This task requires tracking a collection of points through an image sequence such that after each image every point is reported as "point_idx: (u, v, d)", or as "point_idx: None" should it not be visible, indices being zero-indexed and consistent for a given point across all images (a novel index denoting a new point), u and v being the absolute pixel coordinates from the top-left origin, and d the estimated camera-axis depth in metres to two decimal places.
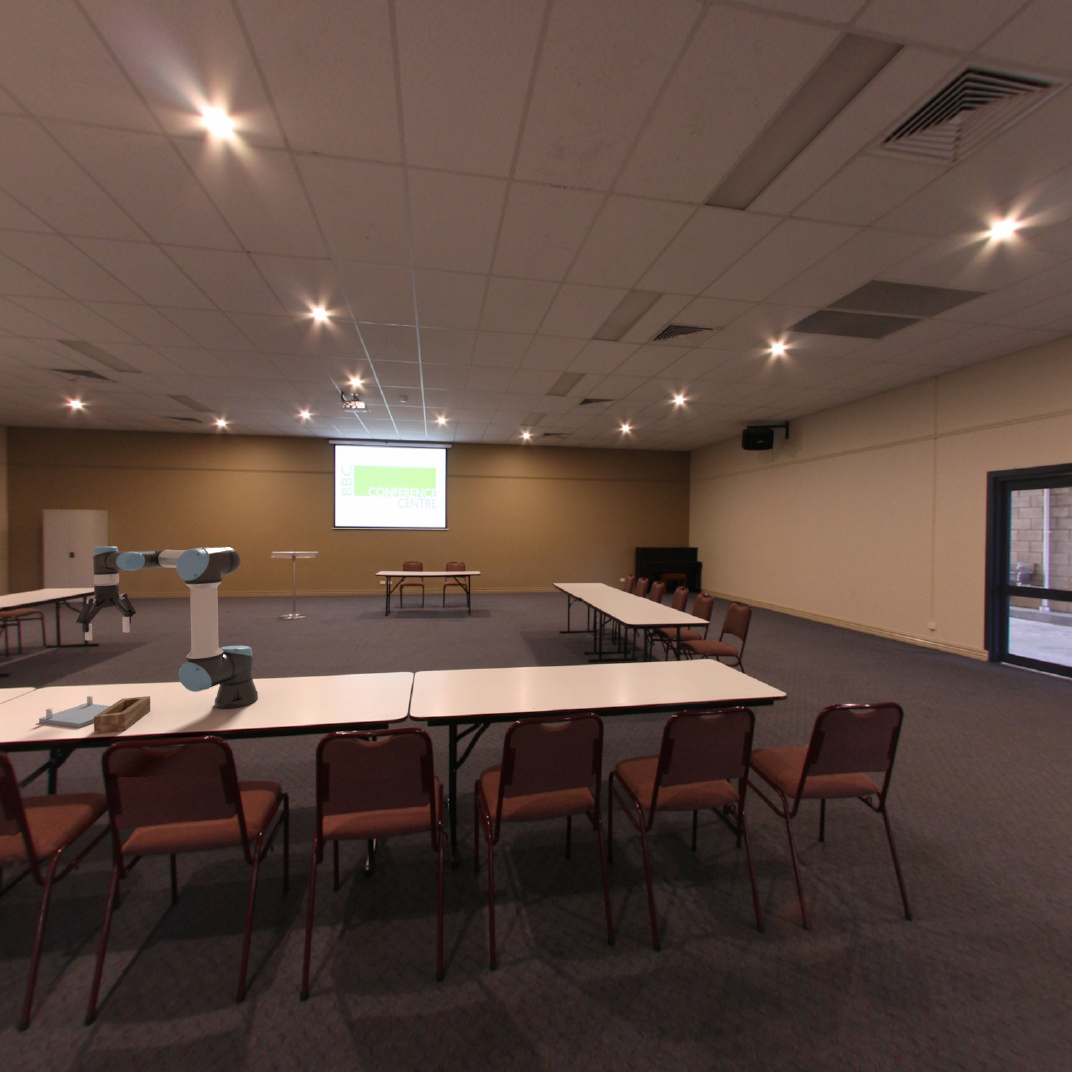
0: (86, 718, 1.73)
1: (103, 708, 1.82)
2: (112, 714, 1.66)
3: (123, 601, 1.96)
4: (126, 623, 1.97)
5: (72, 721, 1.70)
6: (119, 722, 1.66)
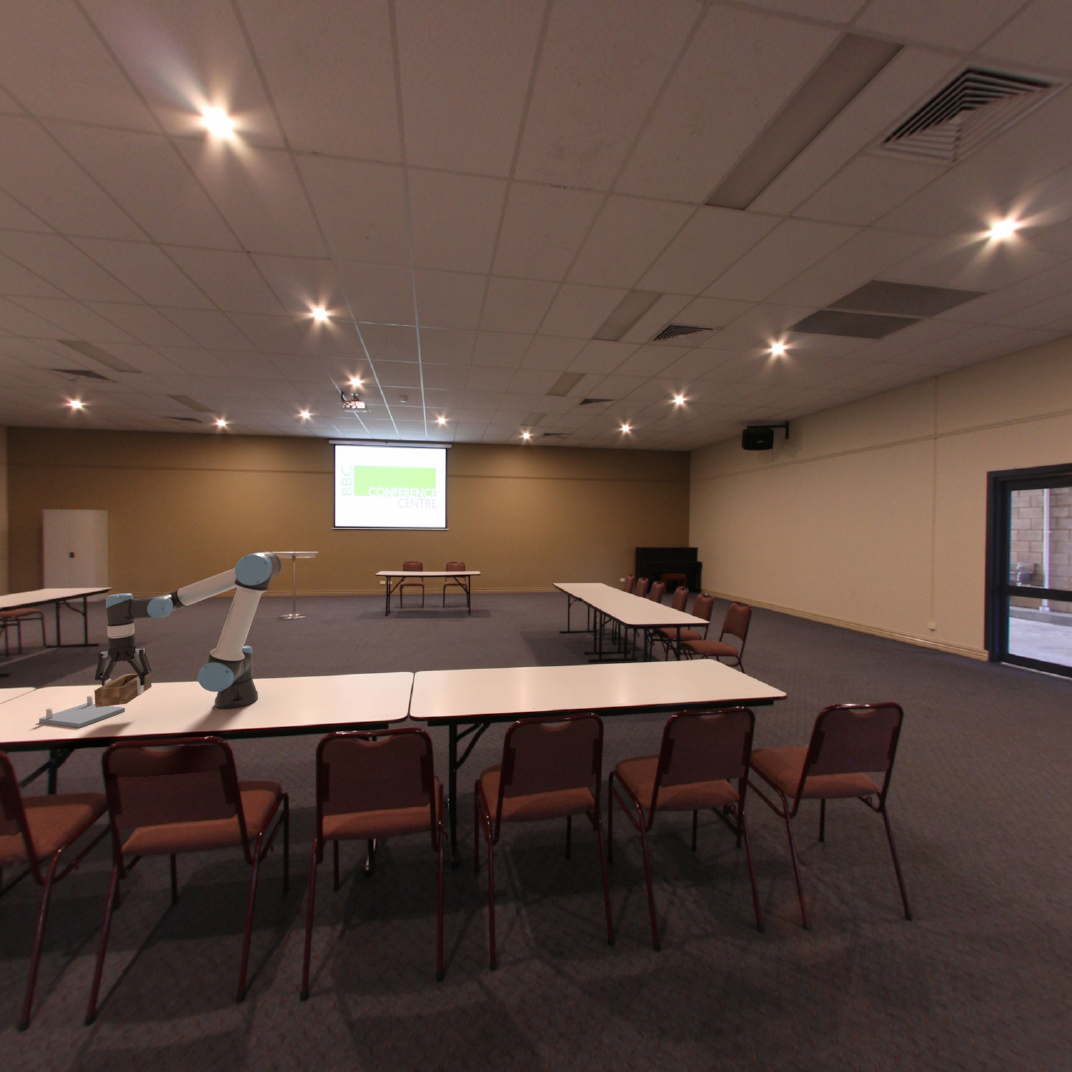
0: (86, 718, 1.73)
1: (103, 708, 1.82)
2: (113, 687, 1.66)
3: None
4: None
5: (72, 721, 1.70)
6: (120, 695, 1.66)
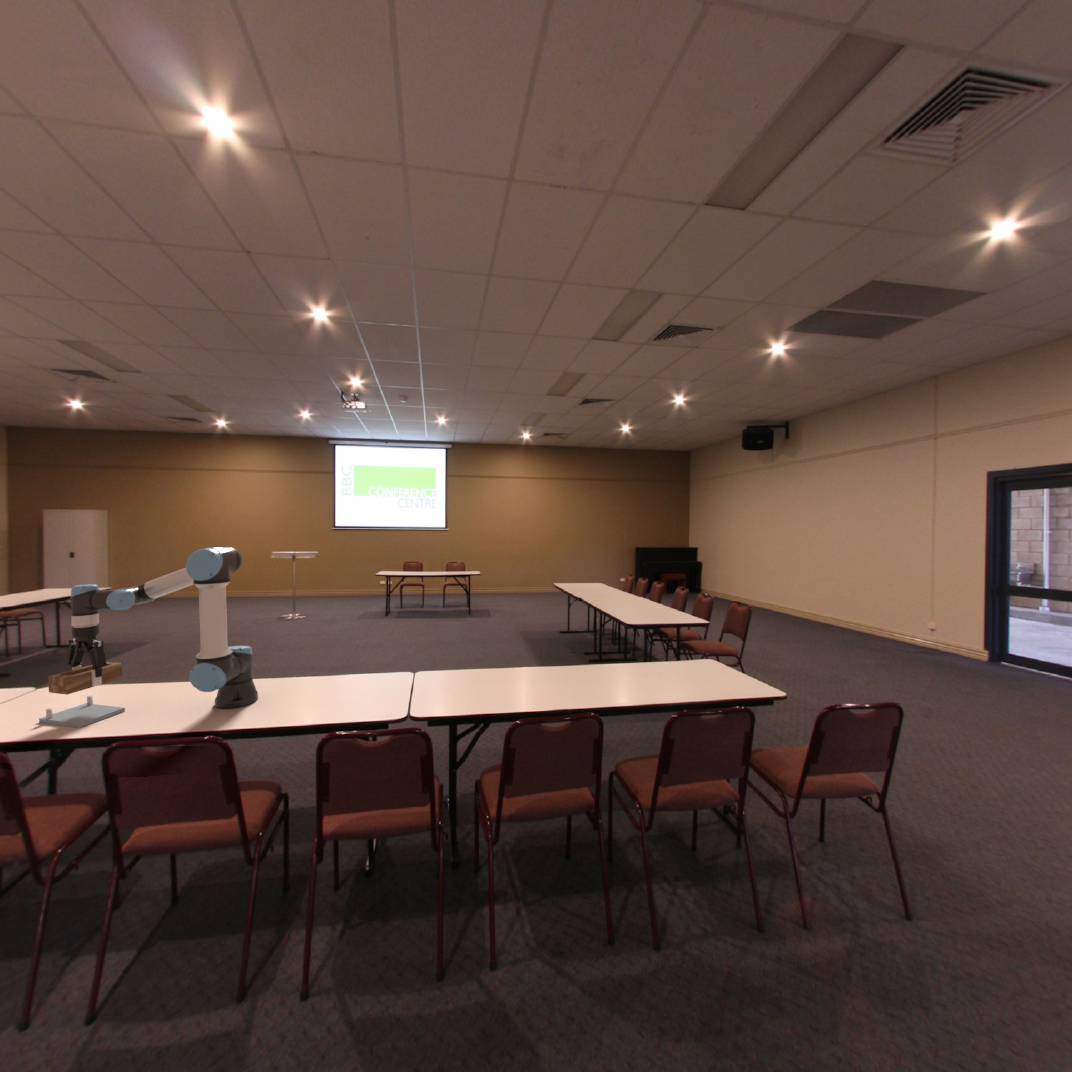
0: (86, 718, 1.73)
1: (103, 708, 1.82)
2: (61, 676, 1.69)
3: None
4: None
5: (72, 721, 1.70)
6: (63, 685, 1.68)
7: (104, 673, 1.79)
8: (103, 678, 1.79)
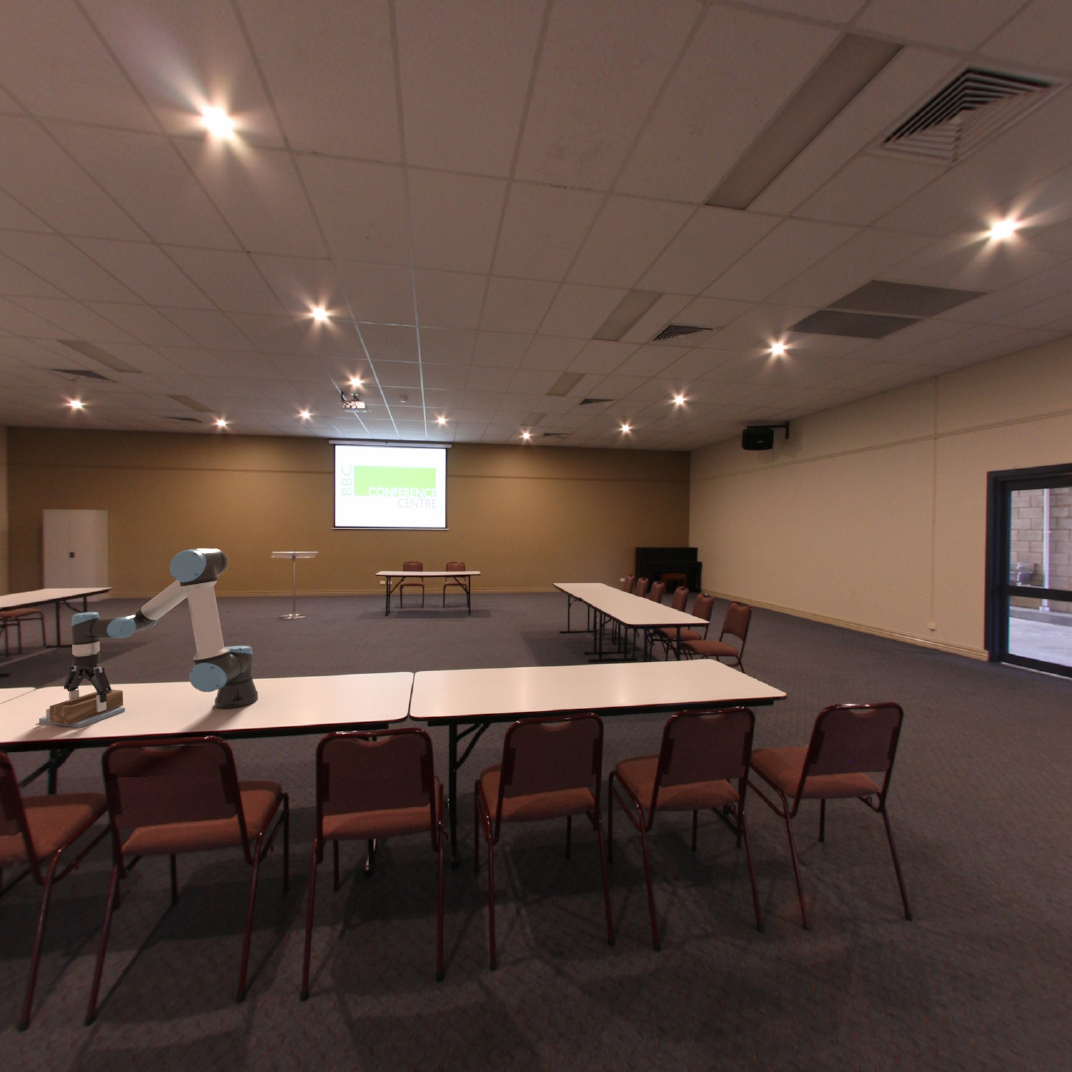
0: (86, 718, 1.73)
1: None
2: (62, 706, 1.69)
3: None
4: None
5: None
6: (65, 715, 1.68)
7: None
8: None
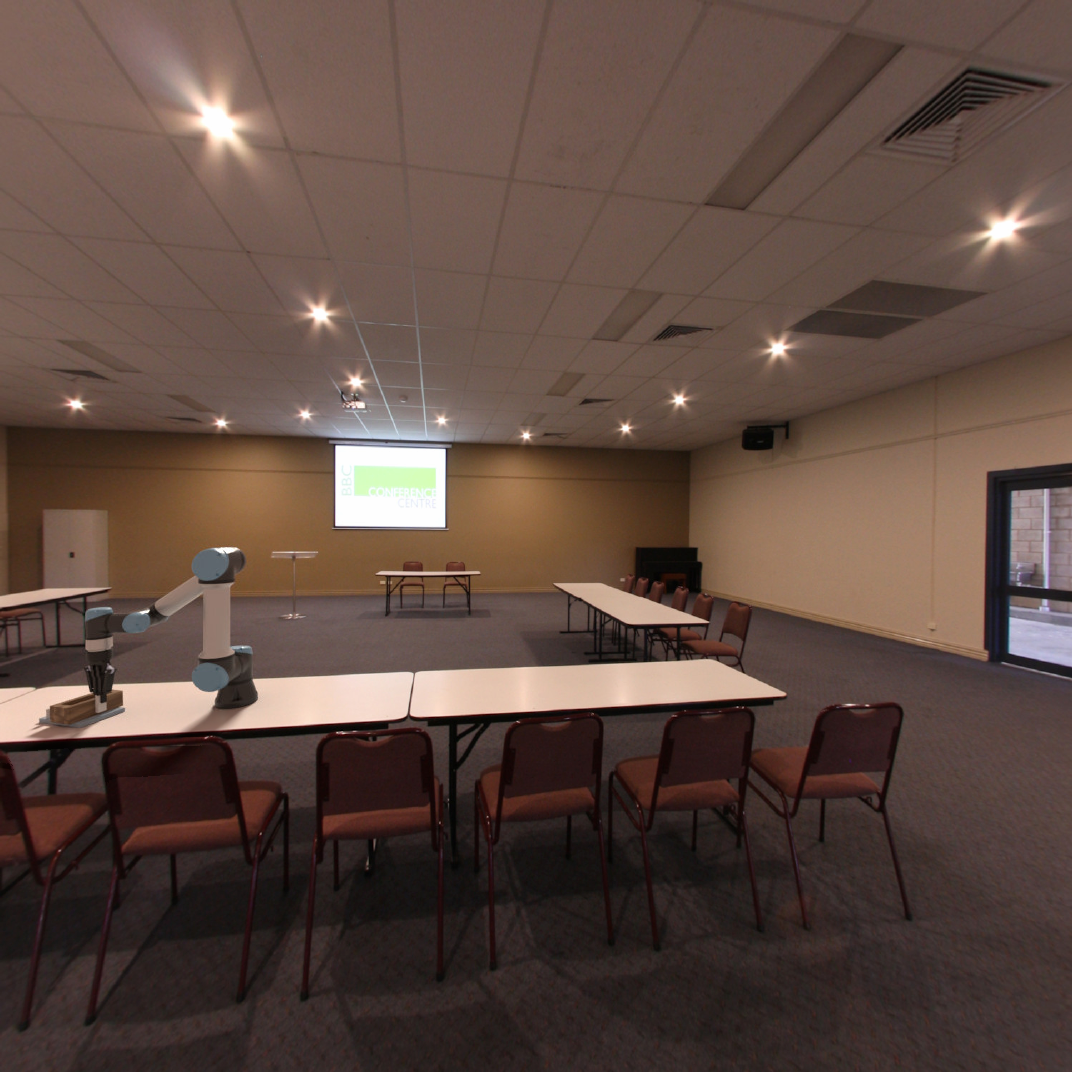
0: (86, 718, 1.73)
1: None
2: (62, 706, 1.69)
3: None
4: None
5: None
6: (65, 715, 1.68)
7: None
8: None
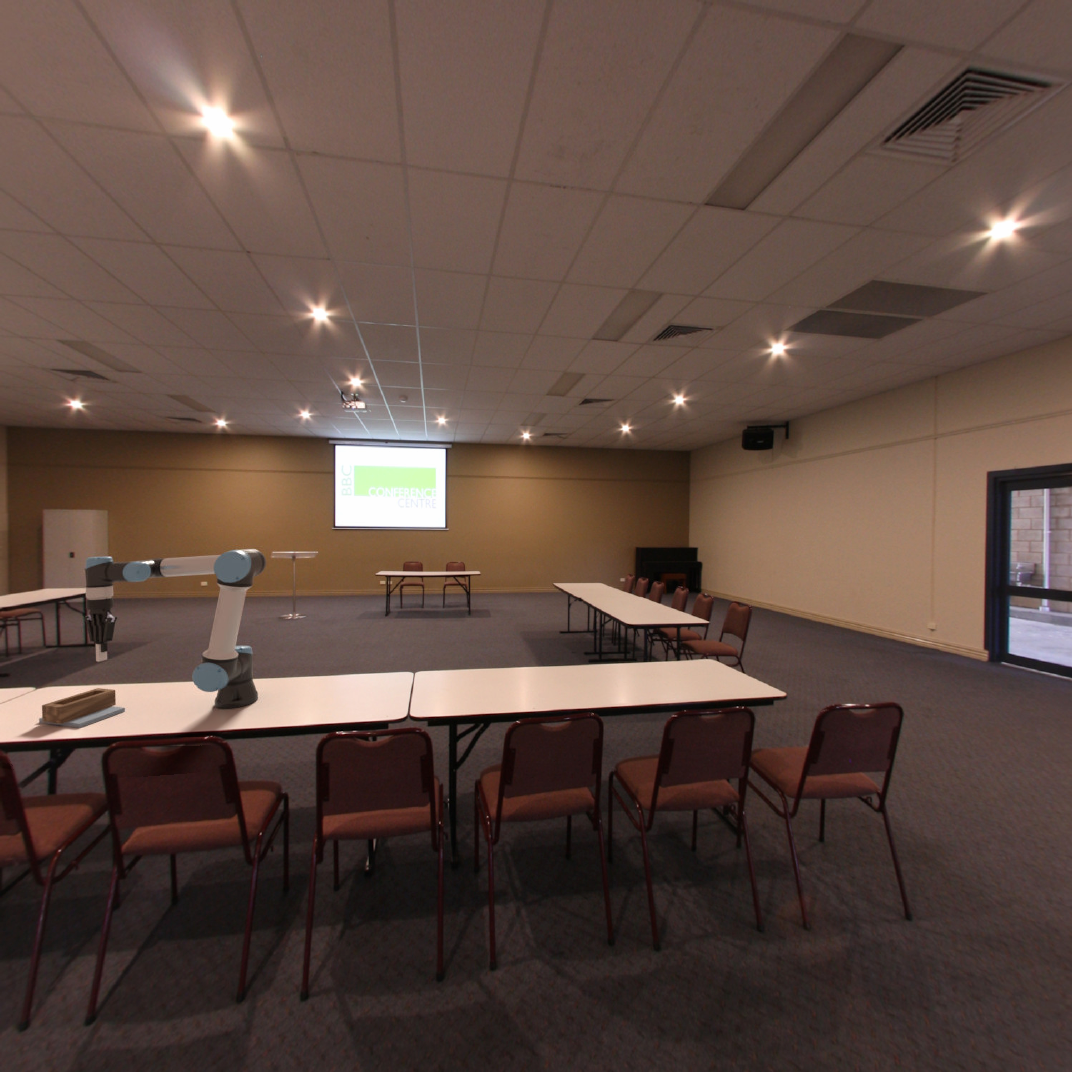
0: (86, 718, 1.73)
1: None
2: (55, 705, 1.70)
3: None
4: None
5: (72, 721, 1.70)
6: (57, 714, 1.69)
7: (98, 700, 1.80)
8: (97, 705, 1.80)
